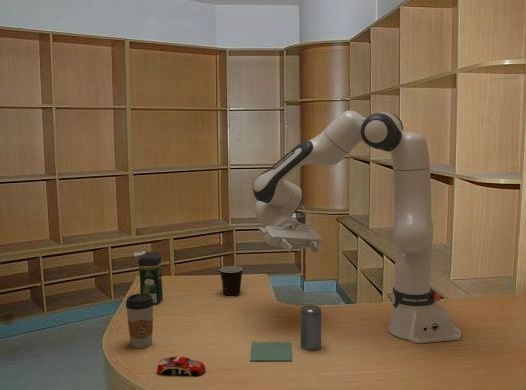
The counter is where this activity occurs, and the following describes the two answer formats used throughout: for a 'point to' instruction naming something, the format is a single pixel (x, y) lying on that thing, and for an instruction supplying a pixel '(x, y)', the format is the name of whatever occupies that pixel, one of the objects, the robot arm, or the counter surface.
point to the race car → (180, 366)
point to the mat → (271, 352)
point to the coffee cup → (140, 319)
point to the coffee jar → (151, 275)
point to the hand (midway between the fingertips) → (304, 250)
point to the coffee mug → (231, 280)
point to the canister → (310, 327)
